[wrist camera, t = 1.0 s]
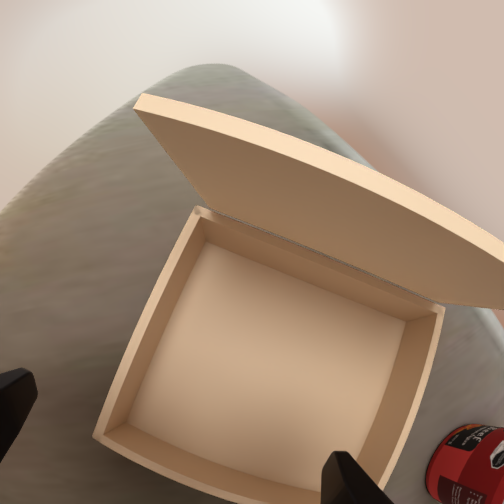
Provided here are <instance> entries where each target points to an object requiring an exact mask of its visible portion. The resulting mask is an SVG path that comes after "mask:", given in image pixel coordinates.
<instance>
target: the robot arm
mask: <svg viewBox="0 0 504 504" xmlns="http://www.w3.org/2000/svg"><path fill="white" fill-rule="evenodd" d="M37 395H38V391H37V387H36V383H35V379H34V375H33V373H32V372H31V371H29V370H27V369H25V368H18V369H15V370H11V371H8V372H4V373H1V374H0V463H1V461H2V459H3V458H4V456H5V454H6V453H7V451H8V450H9V448H10V446H11V445H12V443H13V442H14V440H15V438H16V437H17V435H18V434H19V432H20V430H21V428H22V426H23V424H24V422H25V420H26V418H27V416H28V414H29V412H30V410H31V408H32V406H33V404H34V403H35V401H36V399H37ZM320 504H394V503H393V502H392V501H391V500H390V499H389V498H388V497H387V495H386V494H385V493H384V492H383V491H382V490H381V489H380V488H379V487H378V485H377V484H376V483H375V482H374V481H373V480H372V479H371V478H370V476H369V475H368V474H367V473H366V472H365V471H364V470H363V468H362V467H361V466H360V465H359V464H358V463H357V462H356V460H355V459H354V458H353V457H352V456H351V455H350V453H349V452H347V451H333V452H332V453H331V454H330V456H329V458H328V459H327V461H326V463H325V464H324V466H323V468H322V473H321V501H320Z"/></svg>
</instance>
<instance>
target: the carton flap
mask: <svg viewBox="0 0 504 504" xmlns="http://www.w3.org/2000/svg"><path fill="white" fill-rule="evenodd" d="M133 109H134V111H135V112H136V113H137V114H138V116H139V117H140V118H141V120H142V121H143V122H144V124H145V125H146V126H147V127H148V129H149V130H150V131H151V133H152V134H153V135H154V136H155V138H156V139H157V140H158V142H159V143H160V144H161V146H162V147H163V148H164V149H165V151H166V152H167V153H168V155H169V156H170V157H171V159H172V160H173V161H174V162H175V164H176V165H177V166H178V168H179V169H180V170H181V171H182V173H183V174H184V175H185V177H186V178H187V179H188V180H189V182H190V183H191V184H192V186H193V187H194V188H195V189H196V191H197V192H198V193H199V195H200V196H201V197H202V199H203V200H204V201H205V202H206V204H207V205H208V206H209V208H211V209H213V210H216V211H219V212H221V213H224V214H226V215H229V216H231V217H234V218H236V219H239V220H242V221H244V222H247V223H249V224H252V225H254V226H257V227H259V228H262V229H264V230H267V231H269V232H272V233H274V234H277V235H279V236H282V237H284V238H287V239H289V240H292V241H294V242H297V243H299V244H301V245H304V246H306V247H309V248H311V249H314V250H316V251H319V252H321V253H323V254H326V255H328V256H331V257H333V258H335V259H338V260H340V261H343V262H345V263H347V264H350V265H352V266H355V267H357V268H359V269H362V270H364V271H366V272H369V273H371V274H373V275H376V276H378V277H381V278H383V279H385V280H388V281H390V282H392V283H394V284H397V285H399V286H401V287H404V288H406V289H408V290H411V291H413V292H415V293H417V294H420V295H422V296H424V297H427V298H429V299H431V300H433V301H436V302H439V303H447V304H455V305H463V306H472V307H481V308H490V309H499V310H504V243H503V242H502V241H500V240H498V239H497V238H495V237H494V236H492V235H491V234H489V233H488V232H486V231H485V230H483V229H481V228H480V227H478V226H476V225H475V224H473V223H472V222H470V221H468V220H467V219H465V218H463V217H462V216H460V215H458V214H457V213H455V212H453V211H451V210H450V209H448V208H446V207H444V206H443V205H441V204H439V203H437V202H435V201H434V200H432V199H430V198H428V197H426V196H424V195H422V194H421V193H419V192H417V191H415V190H413V189H411V188H409V187H407V186H405V185H403V184H401V183H399V182H397V181H395V180H393V179H391V178H389V177H387V176H385V175H383V174H380V173H378V172H376V171H374V170H372V169H370V168H368V167H365V166H363V165H361V164H359V163H356V162H354V161H352V160H350V159H347V158H345V157H343V156H340V155H338V154H336V153H333V152H331V151H328V150H326V149H323V148H321V147H318V146H316V145H313V144H311V143H308V142H306V141H303V140H300V139H298V138H295V137H292V136H290V135H287V134H284V133H281V132H279V131H276V130H273V129H270V128H267V127H264V126H261V125H258V124H255V123H252V122H249V121H246V120H243V119H240V118H236V117H233V116H230V115H227V114H223V113H220V112H216V111H213V110H209V109H206V108H202V107H198V106H195V105H191V104H187V103H183V102H179V101H175V100H171V99H167V98H163V97H158V96H154V95H149V94H145V93H142V94H141V96H140V98H139V99H138V101H137V103H136V104H135V106H134V108H133Z"/></svg>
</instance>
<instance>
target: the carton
mask: <svg viewBox="0 0 504 504" xmlns="http://www.w3.org/2000/svg"><path fill="white" fill-rule="evenodd" d="M444 313H445V307H442V306H440V305H438V304H436V303H433V302H431V301H429V300H426V299H424V298H422V297H420V296H417V295H415V294H413V293H410V292H408V291H406V290H404V289H401V288H399V287H397V286H394V285H392V284H390V283H387V282H385V281H383V280H380V279H378V278H376V277H373V276H371V275H368V274H366V273H364V272H361V271H359V270H357V269H354V268H352V267H349V266H347V265H345V264H342V263H340V262H337V261H335V260H333V259H330V258H328V257H325V256H323V255H321V254H318V253H316V252H313V251H311V250H308V249H306V248H303V247H301V246H299V245H296V244H294V243H291V242H289V241H286V240H284V239H281V238H279V237H276V236H274V235H271V234H269V233H266V232H264V231H261V230H259V229H256V228H254V227H251V226H249V225H246V224H244V223H241V222H239V221H236V220H234V219H231V218H228V217H226V216H223V215H221V214H218V213H216V212H213V211H210V210H208V209H205V208H203V207H200V206H197V205H196V206H195V208H194V209H193V211H192V213H191V215H190V217H189V219H188V221H187V223H186V225H185V227H184V228H183V230H182V232H181V234H180V236H179V238H178V240H177V242H176V244H175V246H174V248H173V250H172V252H171V254H170V256H169V258H168V260H167V262H166V264H165V266H164V268H163V270H162V272H161V274H160V276H159V278H158V281H157V283H156V285H155V287H154V289H153V291H152V293H151V295H150V297H149V300H148V302H147V304H146V306H145V308H144V310H143V313H142V315H141V317H140V319H139V322H138V324H137V326H136V328H135V331H134V333H133V335H132V337H131V340H130V342H129V344H128V347H127V349H126V351H125V354H124V356H123V358H122V361H121V363H120V366H119V368H118V370H117V373H116V375H115V378H114V380H113V383H112V385H111V388H110V390H109V393H108V396H107V398H106V401H105V403H104V406H103V409H102V411H101V414H100V417H99V419H98V422H97V425H96V427H95V430H94V433H93V436H92V438H93V439H95V440H97V441H98V442H100V443H102V444H103V445H105V446H107V447H108V448H110V449H112V450H114V451H116V452H117V453H119V454H121V455H123V456H125V457H126V458H128V459H130V460H132V461H134V462H136V463H138V464H140V465H142V466H144V467H146V468H148V469H150V470H152V471H154V472H157V473H159V474H161V475H163V476H165V477H168V478H170V479H172V480H175V481H177V482H179V483H182V484H184V485H187V486H189V487H192V488H194V489H197V490H200V491H202V492H205V493H208V494H211V495H214V496H216V497H219V498H222V499H225V500H229V501H232V502H235V503H238V504H320V501H321V473H322V468H323V466H324V464H325V463H326V461H327V459H328V458H329V456H330V454H331V453H332V452H333V451H347V452H349V453H350V455H351V456H352V457H353V458H354V459H355V460H356V462H357V463H358V464H359V465H360V466H361V467H362V468H363V470H364V471H365V472H366V473H367V474H368V475H369V476H370V478H371V479H372V480H373V481H374V482H375V483H376V484H377V485H378V487H379V488H380V489H381V490H382V491H383V489H384V487H385V485H386V483H387V481H388V479H389V477H390V475H391V473H392V471H393V469H394V467H395V465H396V462H397V460H398V458H399V456H400V454H401V451H402V449H403V447H404V444H405V442H406V439H407V437H408V434H409V432H410V429H411V427H412V424H413V422H414V419H415V416H416V414H417V411H418V408H419V405H420V402H421V399H422V396H423V393H424V390H425V387H426V384H427V381H428V377H429V374H430V370H431V367H432V363H433V360H434V356H435V352H436V348H437V344H438V340H439V336H440V332H441V327H442V322H443V318H444Z"/></svg>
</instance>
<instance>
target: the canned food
mask: <svg viewBox="0 0 504 504" xmlns="http://www.w3.org/2000/svg"><path fill="white" fill-rule="evenodd" d="M426 486H427V488H428V491H429V492H430V494H431V495H432V497H433V498H434V499H436V500H438V501H440V502H441V503H443V504H504V428H502V427H494V426H487V425H480V424H471V425H467V426H463V427H460V428H458V429H456V430H455V431H454V432H452V433H451V434H450V435H449V436H448V437H446V438H445V440H444V441H443V442H442V443H441V444H440V446H439V447H438V449H437V450H436V451H435V453H434V455H433V457H432V459H431V461H430V464H429V466H428V470H427V474H426Z"/></svg>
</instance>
